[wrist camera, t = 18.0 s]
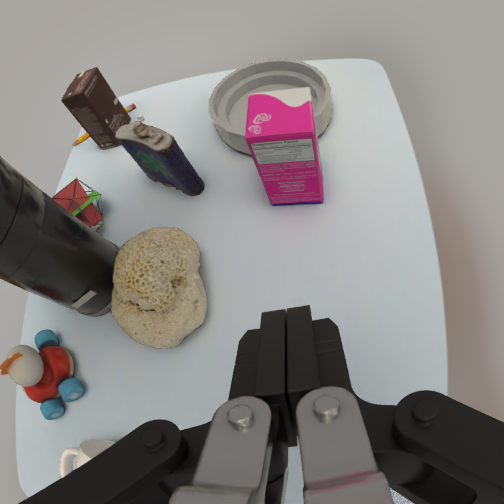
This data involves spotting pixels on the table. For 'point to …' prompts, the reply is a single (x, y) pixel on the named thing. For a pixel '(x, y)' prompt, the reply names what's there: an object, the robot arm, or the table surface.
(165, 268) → the decorative item
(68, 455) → the mug
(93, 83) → the box
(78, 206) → the geometric puzzle
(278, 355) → the robot arm
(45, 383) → the toy car
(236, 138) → the bowl
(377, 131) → the table surface
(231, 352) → the table surface
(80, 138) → the pencil
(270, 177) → the supplement box
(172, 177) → the flask
